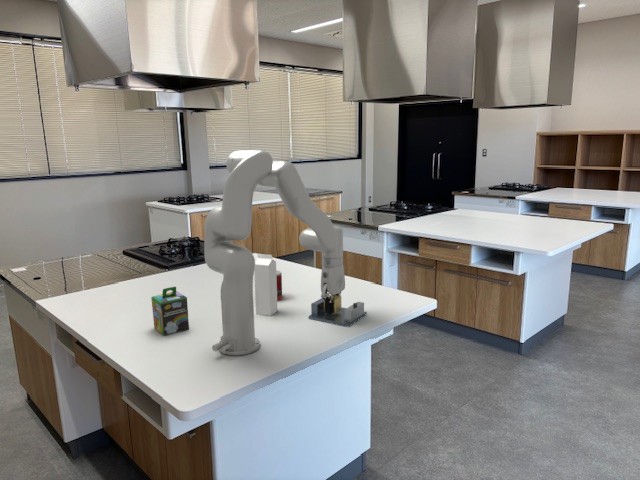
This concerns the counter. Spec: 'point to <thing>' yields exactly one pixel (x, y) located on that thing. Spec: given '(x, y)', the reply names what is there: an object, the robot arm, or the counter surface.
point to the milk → (265, 285)
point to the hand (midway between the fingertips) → (332, 310)
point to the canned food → (279, 285)
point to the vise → (329, 314)
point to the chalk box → (170, 312)
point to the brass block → (335, 304)
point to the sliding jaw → (354, 311)
